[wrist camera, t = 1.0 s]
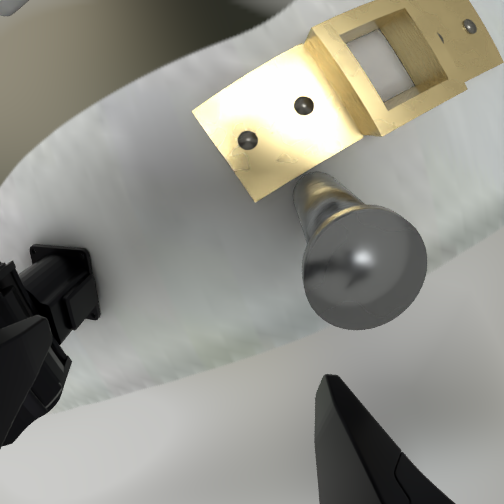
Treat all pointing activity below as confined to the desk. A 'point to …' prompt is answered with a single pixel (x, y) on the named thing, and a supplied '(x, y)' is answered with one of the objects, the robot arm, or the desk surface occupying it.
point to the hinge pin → (356, 256)
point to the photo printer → (10, 6)
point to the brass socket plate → (342, 88)
